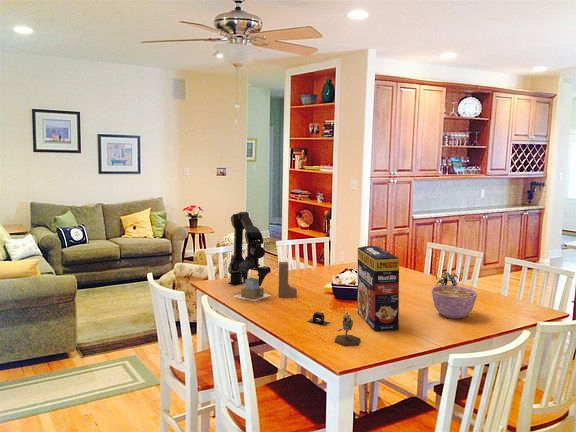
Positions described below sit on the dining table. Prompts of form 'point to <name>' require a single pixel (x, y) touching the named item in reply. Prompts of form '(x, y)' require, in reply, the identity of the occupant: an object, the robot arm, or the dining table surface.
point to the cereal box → (378, 288)
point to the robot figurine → (346, 339)
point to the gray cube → (252, 284)
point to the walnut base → (252, 293)
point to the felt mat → (251, 299)
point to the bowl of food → (453, 300)
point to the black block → (317, 321)
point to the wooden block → (285, 283)
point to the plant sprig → (447, 279)
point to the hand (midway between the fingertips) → (252, 284)
